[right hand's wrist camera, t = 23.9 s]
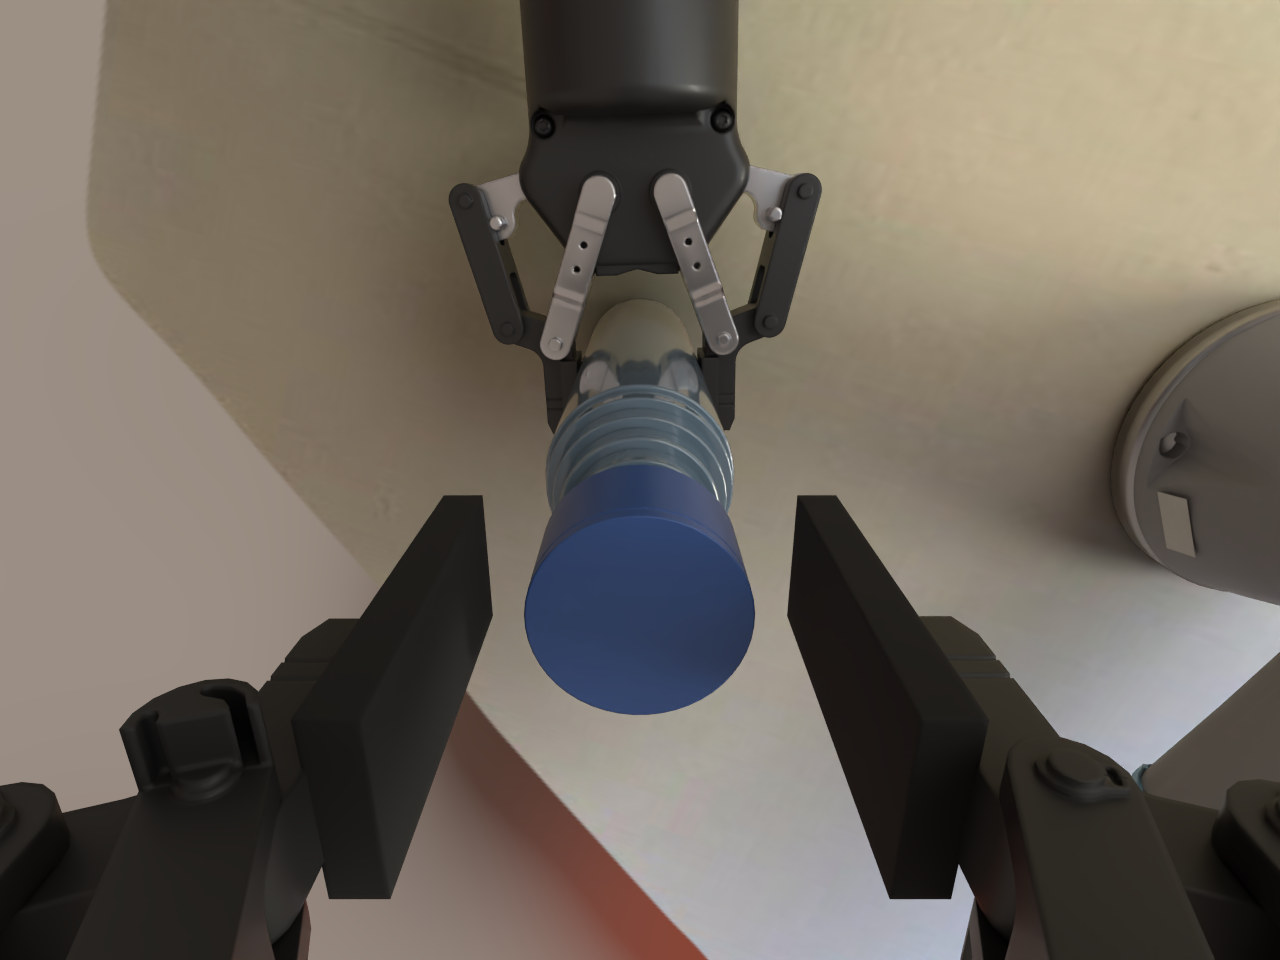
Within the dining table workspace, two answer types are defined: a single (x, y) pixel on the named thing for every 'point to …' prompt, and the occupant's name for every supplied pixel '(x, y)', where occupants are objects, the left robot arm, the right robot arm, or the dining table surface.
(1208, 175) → the dining table surface
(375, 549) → the dining table surface
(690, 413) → the bottle
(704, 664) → the cap
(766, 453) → the dining table surface
